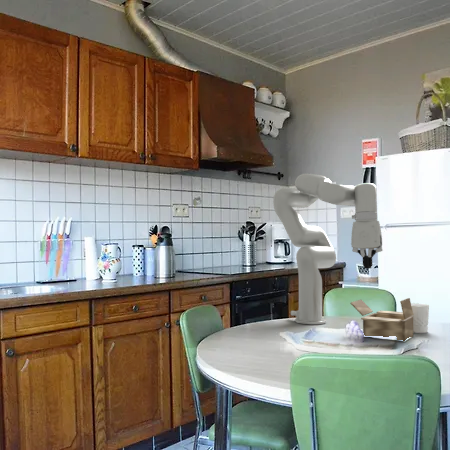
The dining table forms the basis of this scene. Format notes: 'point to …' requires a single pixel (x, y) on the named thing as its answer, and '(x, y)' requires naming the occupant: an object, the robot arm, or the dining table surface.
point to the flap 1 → (361, 307)
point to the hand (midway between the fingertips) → (367, 268)
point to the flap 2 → (406, 308)
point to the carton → (388, 325)
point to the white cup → (420, 317)
